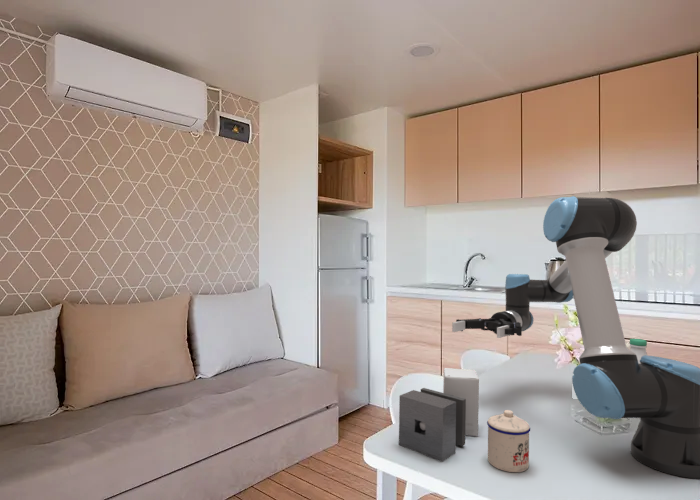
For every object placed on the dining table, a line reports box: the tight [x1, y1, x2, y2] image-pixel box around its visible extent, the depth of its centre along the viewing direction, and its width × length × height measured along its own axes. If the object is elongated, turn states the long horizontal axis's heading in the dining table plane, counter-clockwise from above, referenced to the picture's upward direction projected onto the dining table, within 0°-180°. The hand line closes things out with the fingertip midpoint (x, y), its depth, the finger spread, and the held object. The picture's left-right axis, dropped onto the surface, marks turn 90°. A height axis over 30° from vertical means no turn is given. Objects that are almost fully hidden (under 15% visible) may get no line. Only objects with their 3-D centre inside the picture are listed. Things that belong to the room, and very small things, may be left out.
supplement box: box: [442, 367, 480, 437], centre depth 114 cm, size 9×9×15 cm
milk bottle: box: [629, 338, 649, 364], centre depth 137 cm, size 8×8×20 cm
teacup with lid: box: [486, 409, 531, 473], centre depth 96 cm, size 12×9×12 cm
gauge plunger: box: [419, 387, 466, 447], centre depth 104 cm, size 14×10×11 cm, turn 47°
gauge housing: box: [398, 389, 457, 463], centre depth 106 cm, size 15×15×12 cm
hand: (474, 329), depth 120 cm, fingers open, 13 cm apart
